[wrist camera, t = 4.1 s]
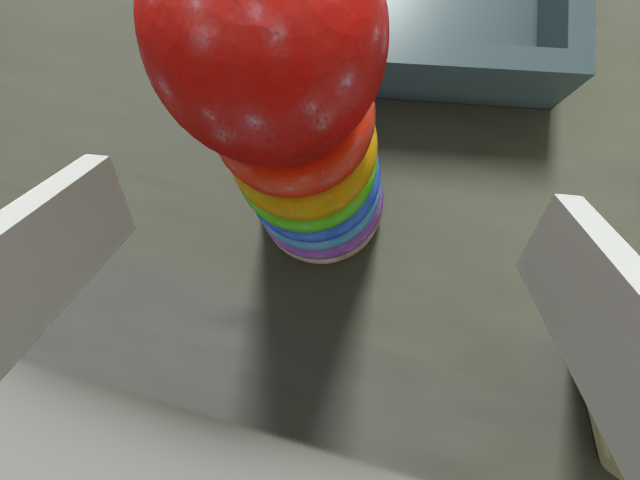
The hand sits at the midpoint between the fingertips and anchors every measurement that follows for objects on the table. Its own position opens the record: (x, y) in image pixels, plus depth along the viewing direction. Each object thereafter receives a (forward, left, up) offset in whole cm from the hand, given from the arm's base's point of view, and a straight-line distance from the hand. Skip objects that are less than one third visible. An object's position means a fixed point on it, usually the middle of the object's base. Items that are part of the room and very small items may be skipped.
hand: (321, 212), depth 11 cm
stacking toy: (-1, +3, -13) cm, 13 cm away
